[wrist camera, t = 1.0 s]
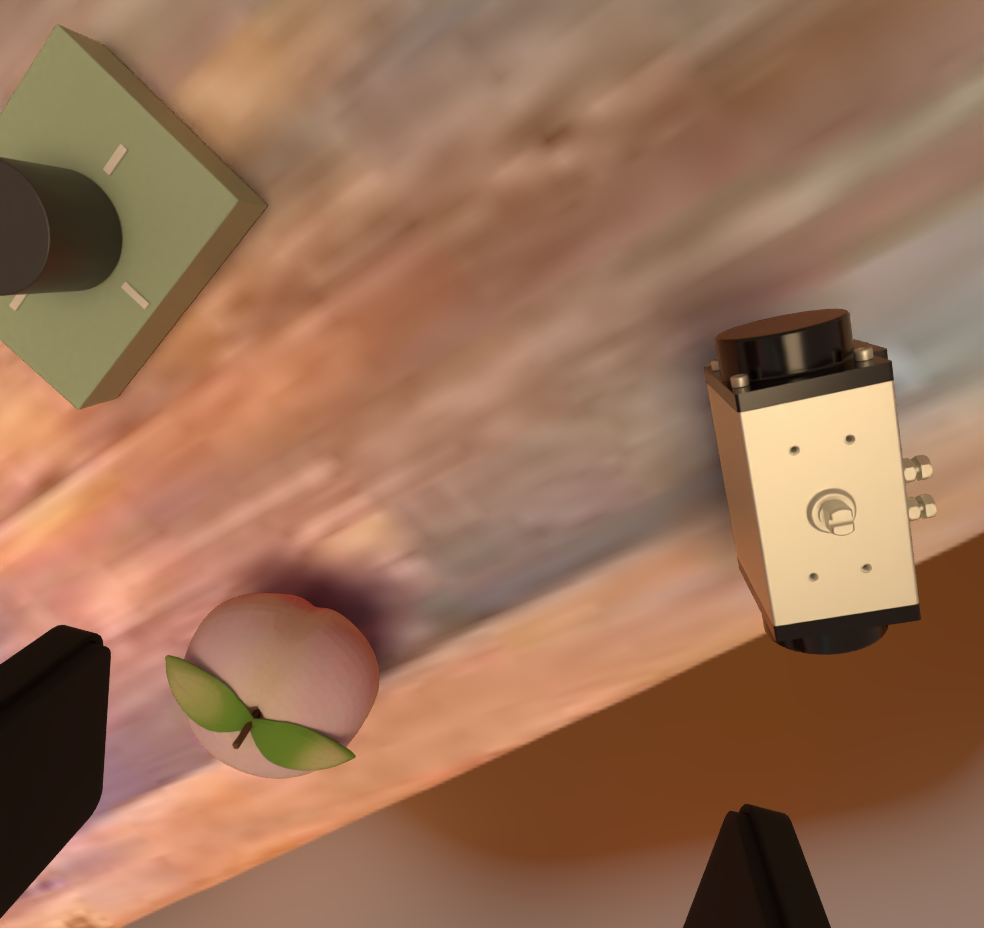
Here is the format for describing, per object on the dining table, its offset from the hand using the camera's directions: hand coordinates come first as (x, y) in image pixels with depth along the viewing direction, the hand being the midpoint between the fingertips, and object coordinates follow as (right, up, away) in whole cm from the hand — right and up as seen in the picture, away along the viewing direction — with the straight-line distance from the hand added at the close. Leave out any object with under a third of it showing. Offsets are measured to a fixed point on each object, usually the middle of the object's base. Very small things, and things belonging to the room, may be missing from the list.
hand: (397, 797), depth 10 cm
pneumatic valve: (+14, +6, +23) cm, 28 cm away
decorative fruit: (-8, -4, +29) cm, 31 cm away
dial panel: (-17, +16, +24) cm, 34 cm away
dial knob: (-17, +15, +21) cm, 32 cm away
